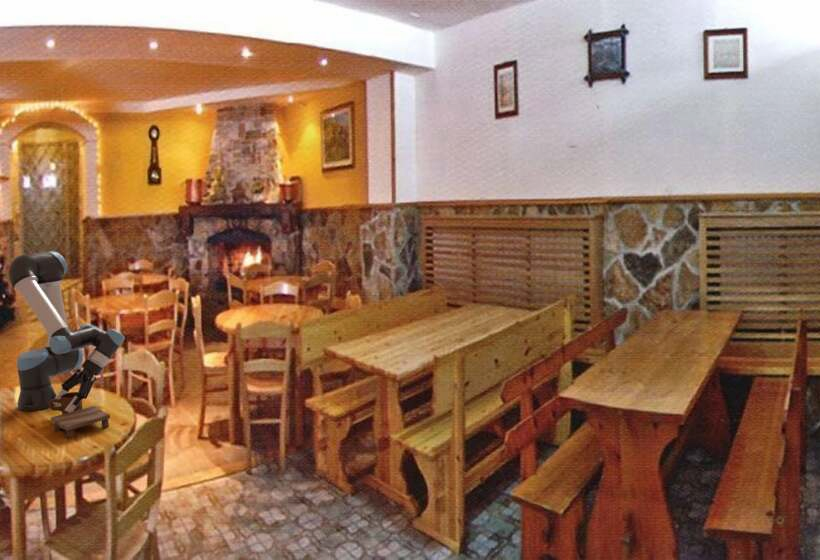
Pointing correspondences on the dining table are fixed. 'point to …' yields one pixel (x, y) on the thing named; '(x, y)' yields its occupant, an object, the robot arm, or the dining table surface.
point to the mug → (64, 402)
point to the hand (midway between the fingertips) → (61, 408)
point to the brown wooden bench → (80, 419)
